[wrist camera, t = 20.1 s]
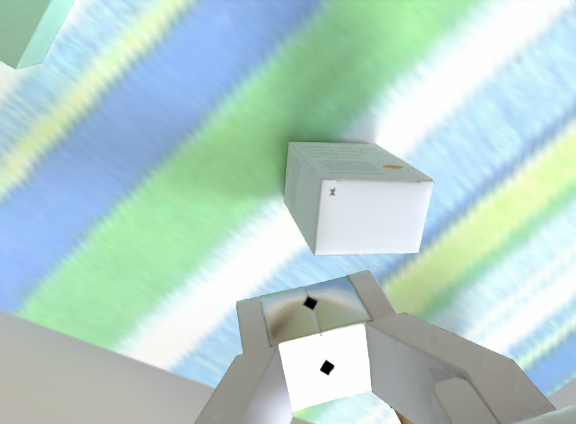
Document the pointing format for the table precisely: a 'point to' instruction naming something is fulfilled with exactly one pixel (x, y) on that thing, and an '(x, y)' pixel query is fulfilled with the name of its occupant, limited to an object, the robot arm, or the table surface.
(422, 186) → the small box
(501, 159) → the table surface
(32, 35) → the green push button box
